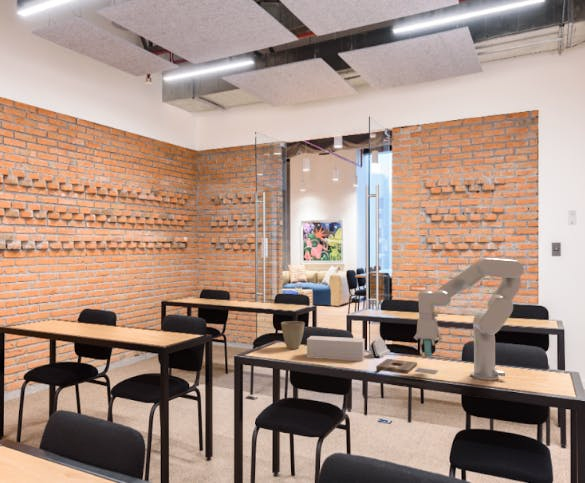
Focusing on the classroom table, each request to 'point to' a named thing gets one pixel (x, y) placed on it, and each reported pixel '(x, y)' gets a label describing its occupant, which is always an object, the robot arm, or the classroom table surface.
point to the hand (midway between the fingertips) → (428, 352)
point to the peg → (428, 347)
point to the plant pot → (292, 333)
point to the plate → (426, 371)
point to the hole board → (396, 366)
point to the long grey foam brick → (336, 348)
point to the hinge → (379, 348)
